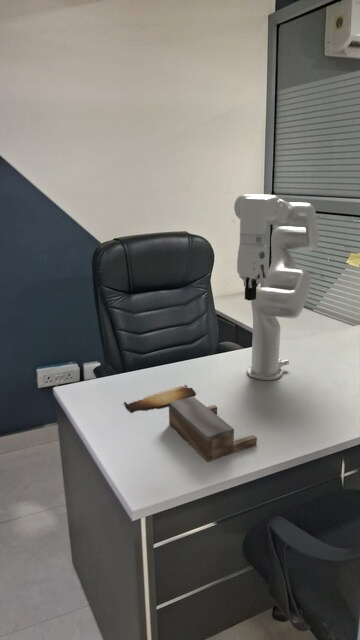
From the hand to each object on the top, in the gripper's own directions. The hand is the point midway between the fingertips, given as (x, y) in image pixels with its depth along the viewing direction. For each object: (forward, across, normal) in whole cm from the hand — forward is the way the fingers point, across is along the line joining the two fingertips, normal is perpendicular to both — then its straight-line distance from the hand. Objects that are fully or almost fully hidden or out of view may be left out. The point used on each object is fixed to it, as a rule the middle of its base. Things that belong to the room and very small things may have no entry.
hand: (250, 299), depth 148 cm
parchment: (+33, +10, +26) cm, 43 cm away
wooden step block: (+32, -16, +24) cm, 43 cm away
